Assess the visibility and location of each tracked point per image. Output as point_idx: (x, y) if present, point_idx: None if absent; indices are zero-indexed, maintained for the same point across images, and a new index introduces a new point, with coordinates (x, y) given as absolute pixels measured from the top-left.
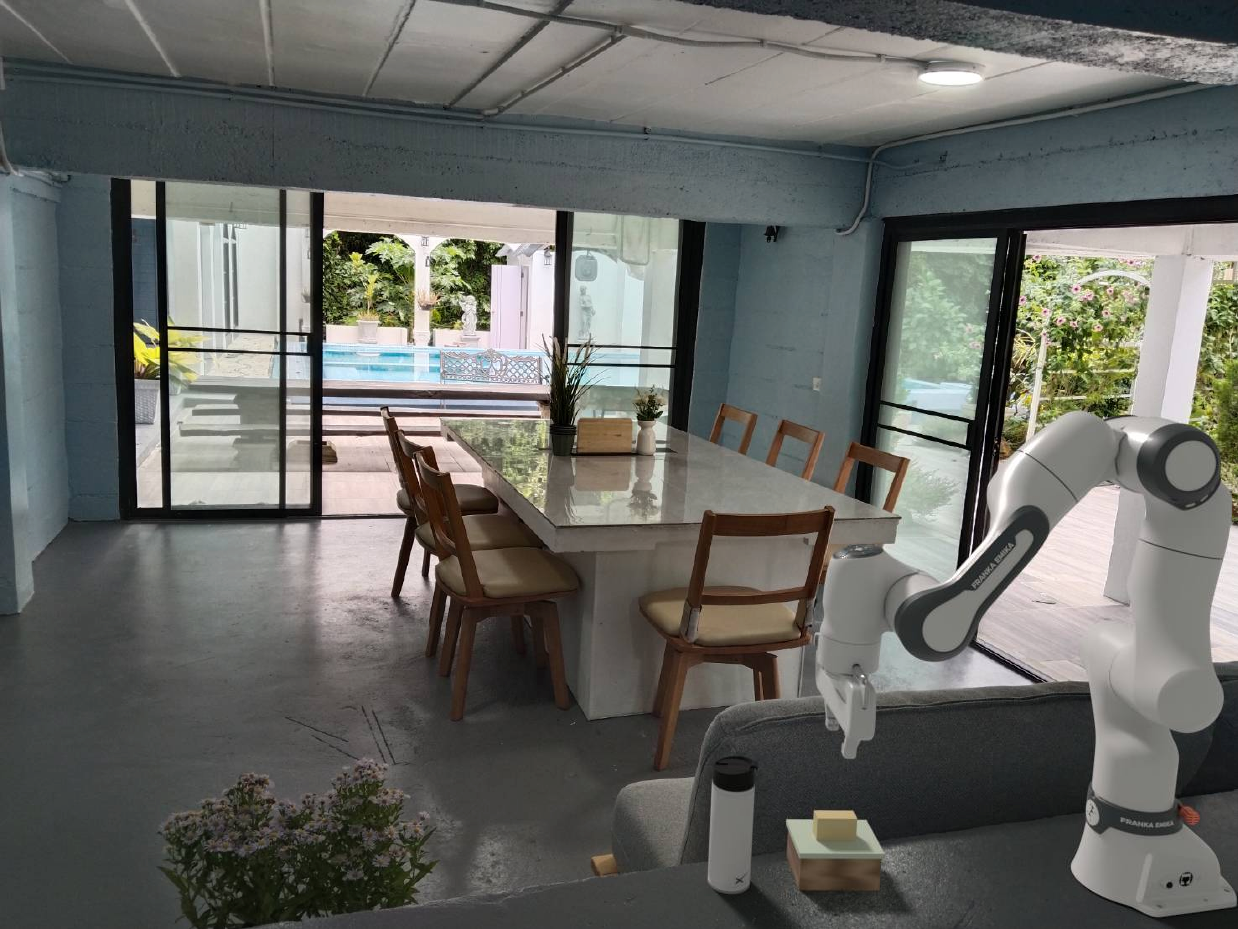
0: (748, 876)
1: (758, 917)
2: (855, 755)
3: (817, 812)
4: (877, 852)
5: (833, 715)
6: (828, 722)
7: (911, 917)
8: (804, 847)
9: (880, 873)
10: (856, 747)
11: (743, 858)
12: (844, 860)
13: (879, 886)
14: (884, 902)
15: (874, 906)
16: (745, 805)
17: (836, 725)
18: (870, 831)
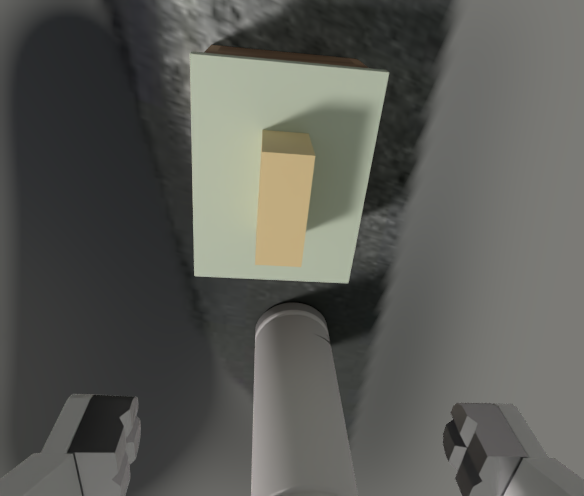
0: (317, 327)
1: (381, 303)
2: (519, 415)
3: (267, 258)
4: (377, 92)
5: (64, 488)
6: (128, 483)
7: (451, 11)
8: (325, 268)
9: (367, 67)
10: (556, 463)
11: (333, 370)
12: None
13: (361, 62)
14: (384, 56)
15: (394, 87)
16: (354, 479)
17: (125, 428)
18: (263, 68)
